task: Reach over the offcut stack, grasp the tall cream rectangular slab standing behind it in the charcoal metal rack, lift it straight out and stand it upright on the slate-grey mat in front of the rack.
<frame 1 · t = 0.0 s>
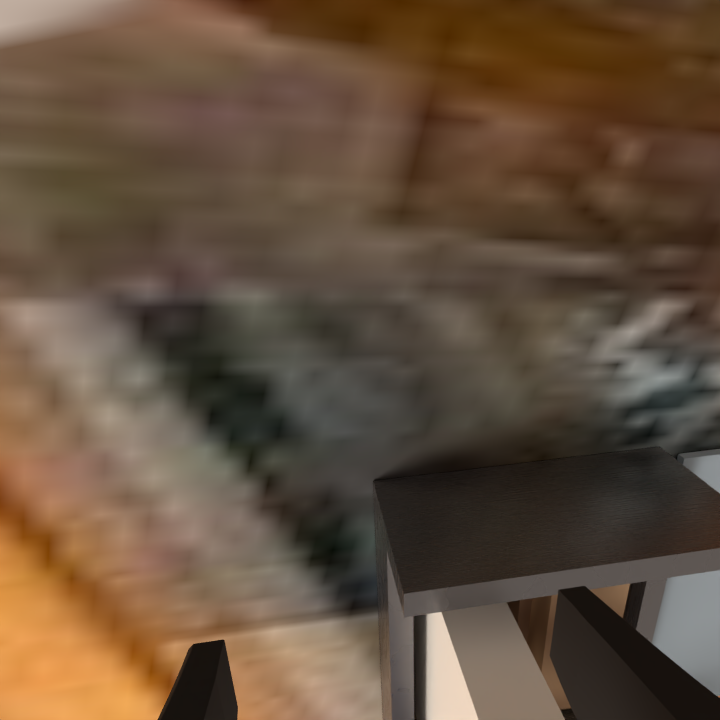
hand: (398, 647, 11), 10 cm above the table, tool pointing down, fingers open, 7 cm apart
rack: (478, 620, 25), on the table
mat: (708, 585, 27), on the table
offcut stack: (545, 602, 26), on the table
cream rectangular slab: (438, 624, 25), on the table
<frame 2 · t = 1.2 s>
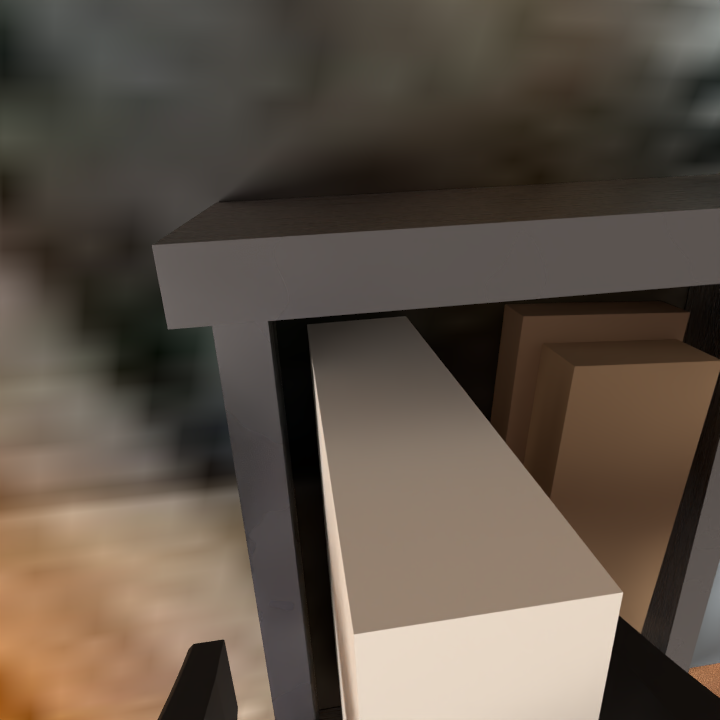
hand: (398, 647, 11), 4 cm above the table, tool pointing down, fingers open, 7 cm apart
rack: (433, 507, 15), on the table
offcut stack: (543, 484, 16), on the table
cream rectangular slab: (366, 514, 15), on the table
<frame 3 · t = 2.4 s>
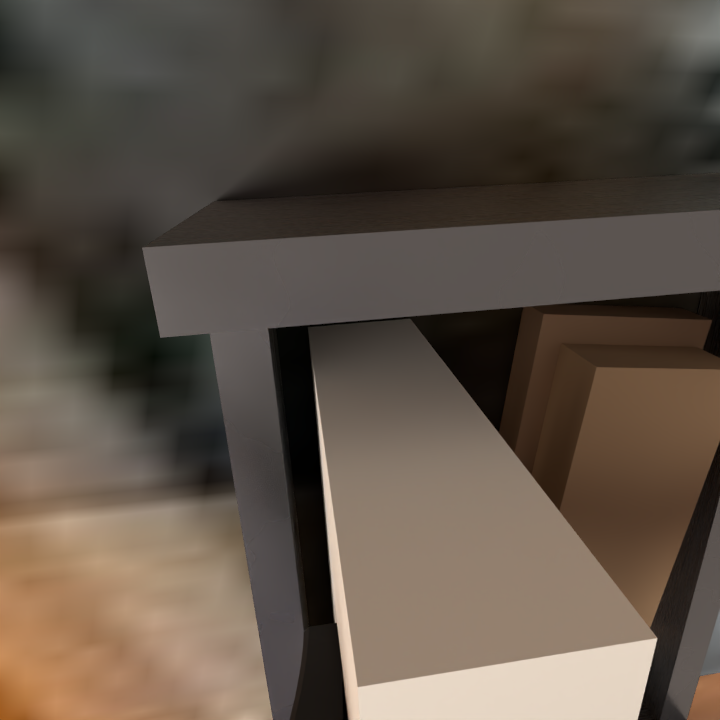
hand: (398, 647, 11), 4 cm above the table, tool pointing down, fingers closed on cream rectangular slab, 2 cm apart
rack: (437, 514, 15), on the table
offcut stack: (548, 490, 16), on the table
cream rectangular slab: (368, 522, 15), on the table, touching gripper
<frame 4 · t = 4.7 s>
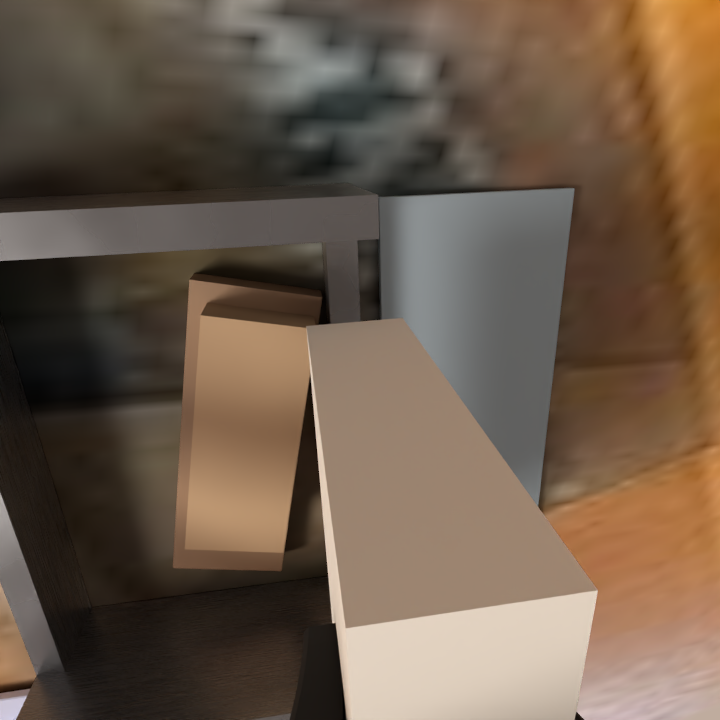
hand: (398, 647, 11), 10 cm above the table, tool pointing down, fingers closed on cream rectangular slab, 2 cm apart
rack: (152, 438, 20), on the table
mat: (465, 407, 21), on the table
offcut stack: (243, 424, 21), on the table
cream rectangular slab: (364, 510, 15), point 6 cm above the table, touching gripper
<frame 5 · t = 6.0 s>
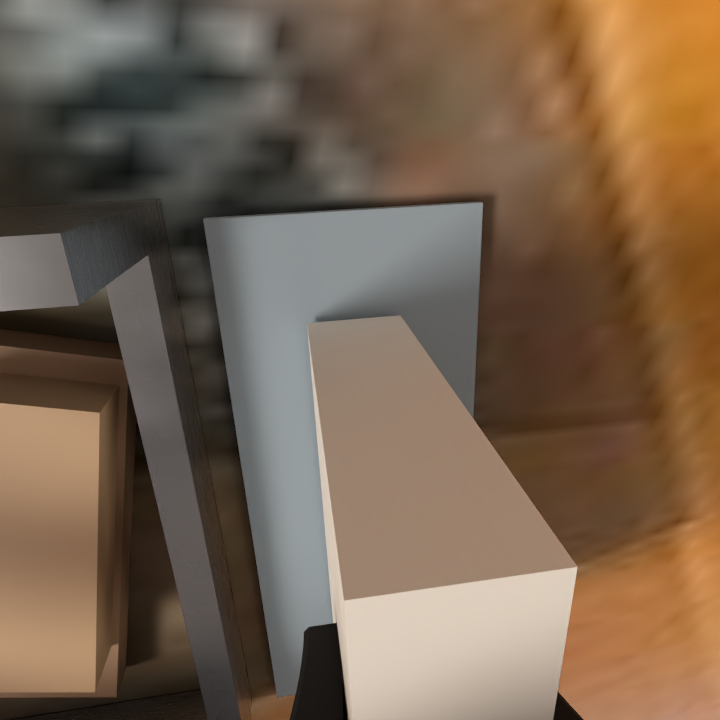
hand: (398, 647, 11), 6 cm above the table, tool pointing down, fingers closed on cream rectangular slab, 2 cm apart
mat: (360, 486, 16), on the table
offcut stack: (59, 513, 16), on the table
cream rectangular slab: (363, 503, 16), point 1 cm above the table, touching gripper
when the fingers open (5 cm above the table, at t = 6.8 s): cream rectangular slab stays where it is, resting on mat.
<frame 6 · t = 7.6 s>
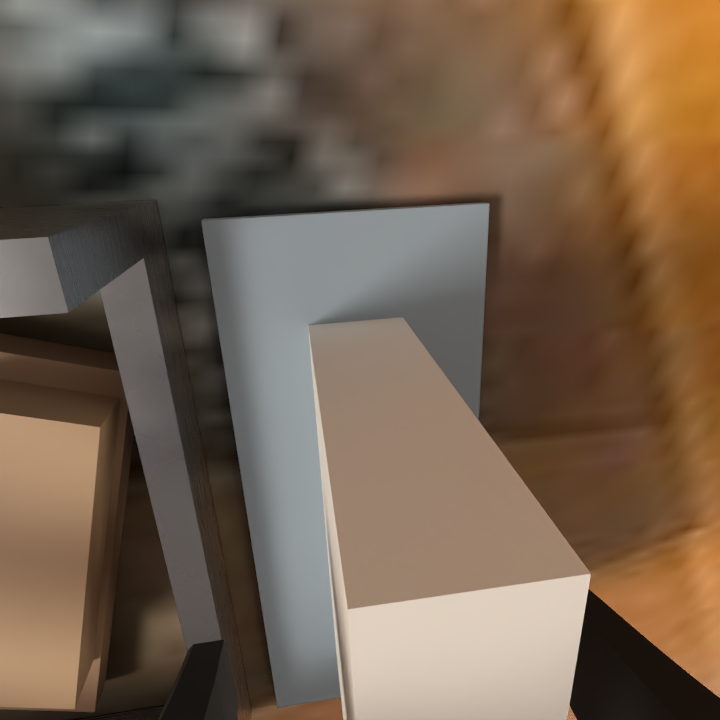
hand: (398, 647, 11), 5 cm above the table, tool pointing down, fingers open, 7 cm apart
mat: (362, 493, 16), on the table
offcut stack: (48, 522, 15), on the table
cream rectangular slab: (365, 508, 16), resting on mat
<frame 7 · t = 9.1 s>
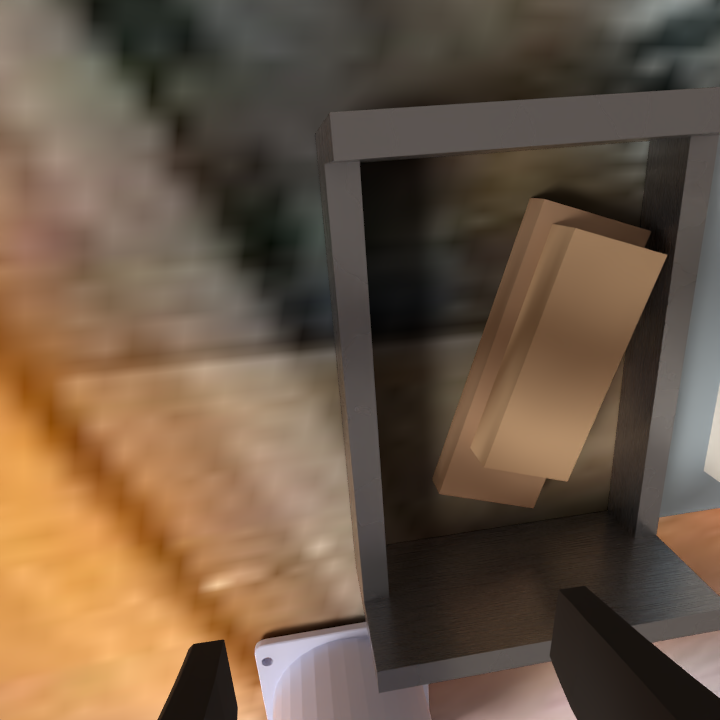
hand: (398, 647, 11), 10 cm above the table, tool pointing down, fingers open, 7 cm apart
rack: (462, 369, 20), on the table
offcut stack: (521, 358, 21), on the table
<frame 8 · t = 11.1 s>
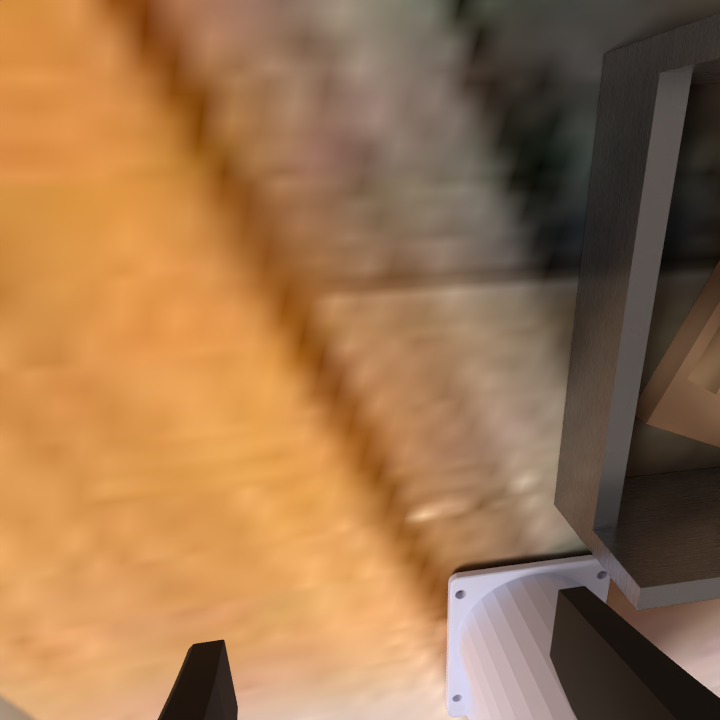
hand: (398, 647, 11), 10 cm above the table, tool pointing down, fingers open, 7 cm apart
rack: (692, 305, 21), on the table
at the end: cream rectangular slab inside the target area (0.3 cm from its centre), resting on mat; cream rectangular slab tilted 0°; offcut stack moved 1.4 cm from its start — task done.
